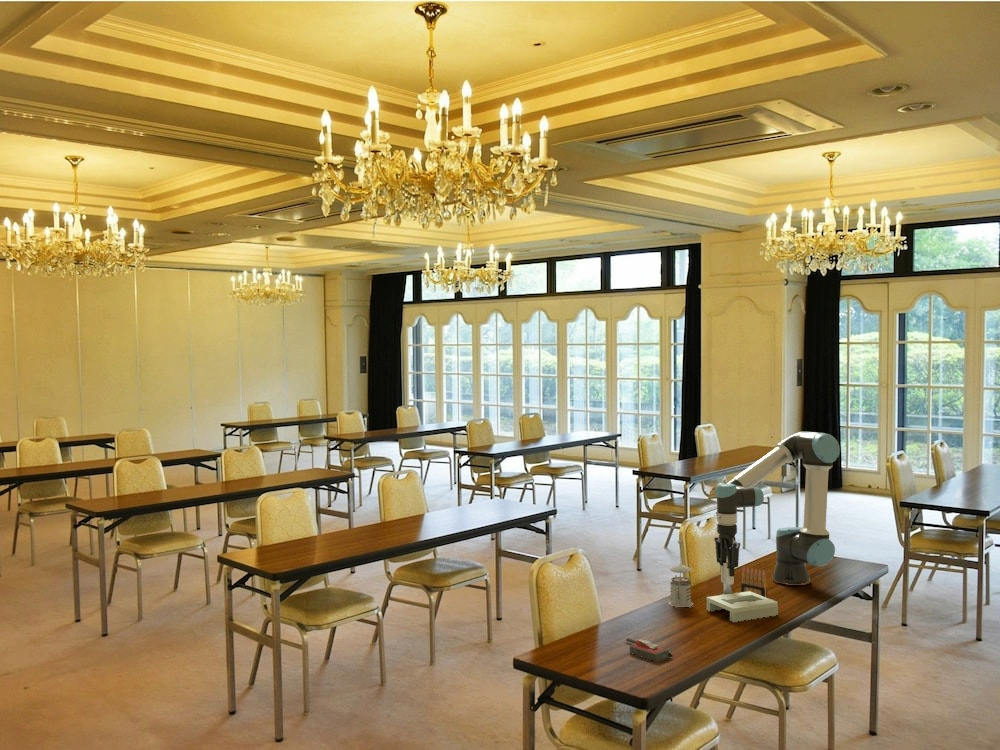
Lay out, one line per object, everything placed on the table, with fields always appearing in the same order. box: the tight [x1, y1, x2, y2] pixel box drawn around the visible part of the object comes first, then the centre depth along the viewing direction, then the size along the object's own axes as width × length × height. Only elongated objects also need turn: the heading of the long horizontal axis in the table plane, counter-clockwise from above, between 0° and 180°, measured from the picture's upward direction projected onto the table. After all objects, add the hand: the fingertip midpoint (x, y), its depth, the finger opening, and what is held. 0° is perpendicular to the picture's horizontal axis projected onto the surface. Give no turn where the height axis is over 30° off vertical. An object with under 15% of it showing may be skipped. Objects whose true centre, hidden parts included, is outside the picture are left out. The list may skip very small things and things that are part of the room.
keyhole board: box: [706, 591, 779, 623], centre depth 306 cm, size 20×16×5 cm
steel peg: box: [720, 561, 732, 595], centre depth 321 cm, size 6×6×15 cm
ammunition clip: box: [740, 566, 768, 598], centre depth 325 cm, size 11×2×12 cm, turn 42°
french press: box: [667, 539, 694, 608], centre depth 317 cm, size 10×12×25 cm
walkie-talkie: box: [626, 638, 673, 663], centre depth 265 cm, size 9×4×20 cm
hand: (727, 582), depth 322 cm, fingers closed on steel peg, 3 cm apart
